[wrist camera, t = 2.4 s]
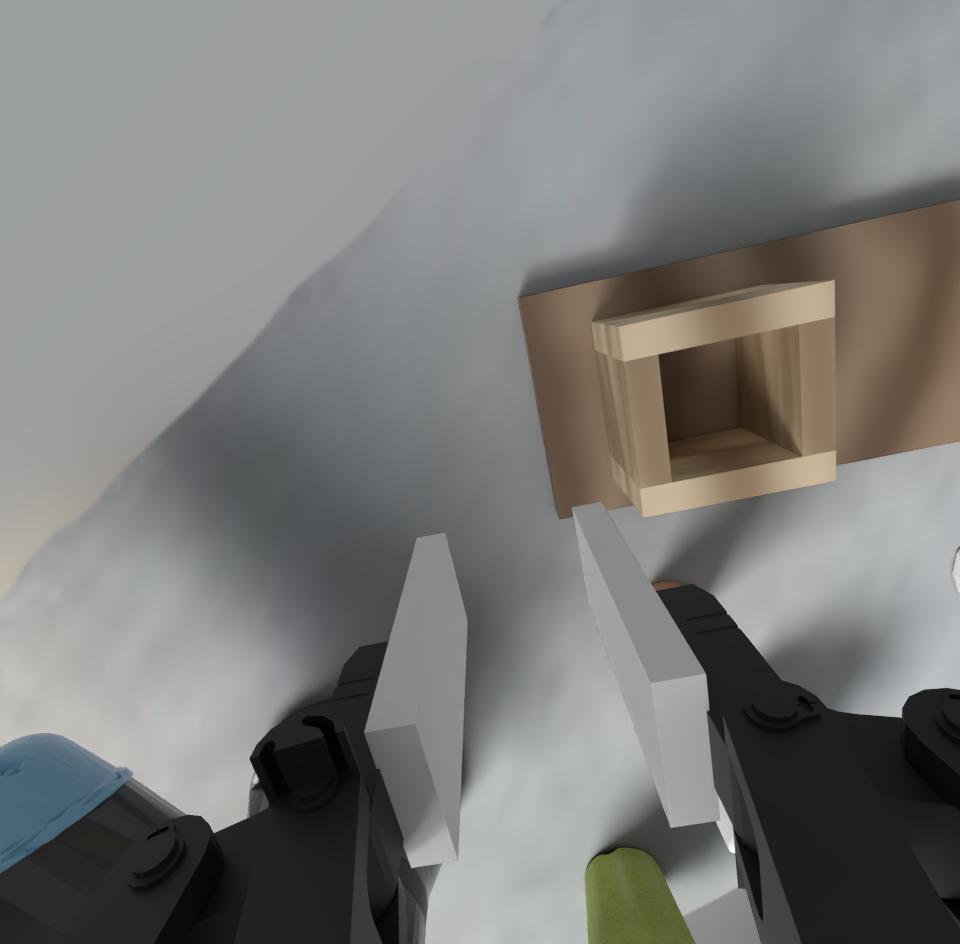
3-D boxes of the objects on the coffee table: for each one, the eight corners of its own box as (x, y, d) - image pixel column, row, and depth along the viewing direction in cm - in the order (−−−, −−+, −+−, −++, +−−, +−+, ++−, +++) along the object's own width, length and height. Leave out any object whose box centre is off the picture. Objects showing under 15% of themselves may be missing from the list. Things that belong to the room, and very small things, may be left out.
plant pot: (587, 818, 41) (614, 947, 33) (698, 843, 42) (751, 976, 34) (548, 899, 44) (564, 1037, 36) (653, 921, 45) (692, 1061, 36)
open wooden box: (613, 478, 31) (643, 517, 25) (591, 322, 28) (619, 326, 22) (769, 447, 30) (836, 480, 25) (761, 284, 28) (834, 279, 22)
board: (556, 510, 33) (584, 587, 24) (517, 298, 29) (534, 296, 20) (983, 426, 32) (1185, 475, 23) (1002, 189, 28) (1254, 135, 19)
